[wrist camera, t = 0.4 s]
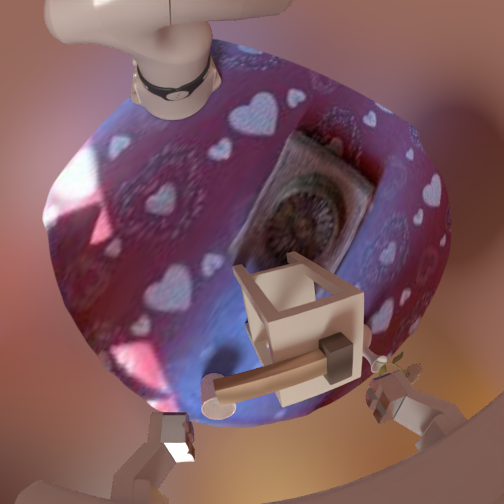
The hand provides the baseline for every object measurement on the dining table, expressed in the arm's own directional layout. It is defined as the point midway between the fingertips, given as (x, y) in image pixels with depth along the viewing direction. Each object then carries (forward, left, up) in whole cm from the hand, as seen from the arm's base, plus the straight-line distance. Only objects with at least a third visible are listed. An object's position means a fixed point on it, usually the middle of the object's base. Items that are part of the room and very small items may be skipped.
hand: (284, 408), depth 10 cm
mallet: (+16, +5, -21) cm, 26 cm away
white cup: (+37, -7, -47) cm, 60 cm away
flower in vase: (+37, +33, -47) cm, 68 cm away
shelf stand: (+16, +11, -47) cm, 50 cm away
